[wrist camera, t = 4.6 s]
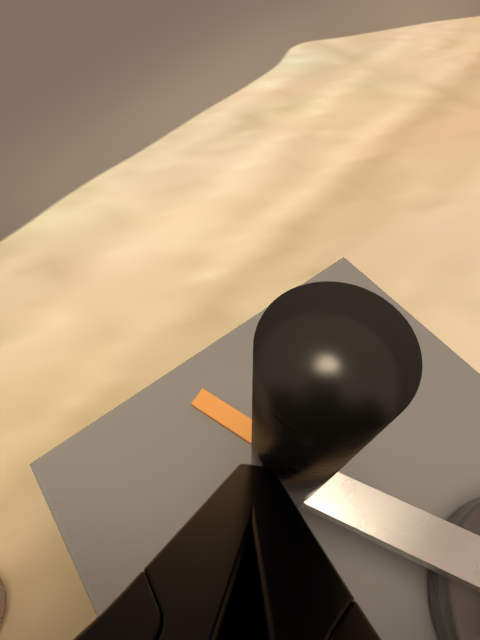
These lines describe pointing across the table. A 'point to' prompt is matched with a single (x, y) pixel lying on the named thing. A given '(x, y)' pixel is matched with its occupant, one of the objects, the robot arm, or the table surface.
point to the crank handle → (355, 432)
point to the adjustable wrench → (2, 600)
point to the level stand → (235, 448)
